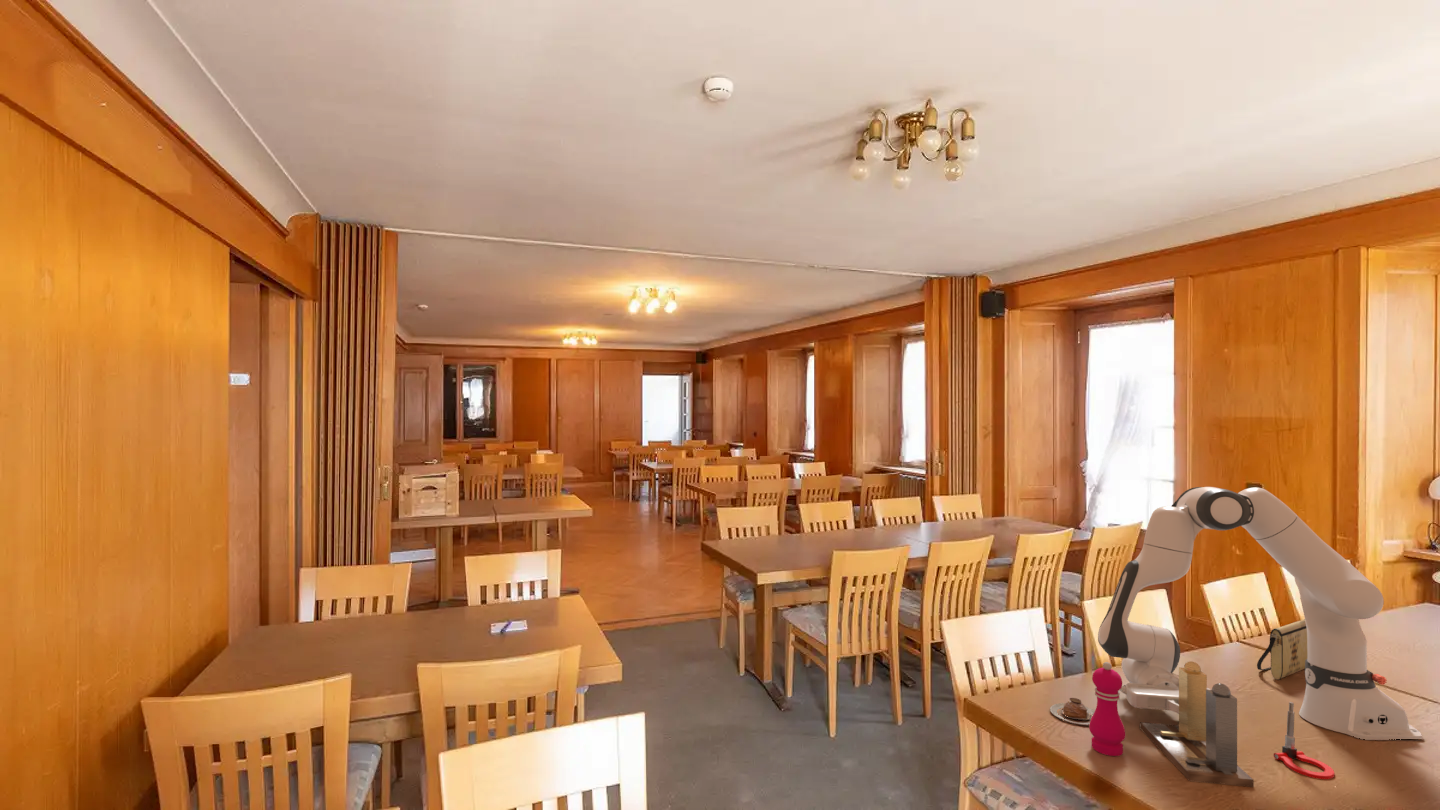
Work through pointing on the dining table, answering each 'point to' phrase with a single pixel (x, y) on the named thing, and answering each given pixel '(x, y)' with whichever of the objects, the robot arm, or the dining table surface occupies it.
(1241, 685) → the dining table surface
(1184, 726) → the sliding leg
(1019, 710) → the dining table surface
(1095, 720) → the pepper mill
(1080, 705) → the pastry
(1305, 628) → the clutch purse
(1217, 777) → the walnut board
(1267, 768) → the dining table surface
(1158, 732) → the bolt strip
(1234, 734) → the fixed leg
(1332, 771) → the tow hook
